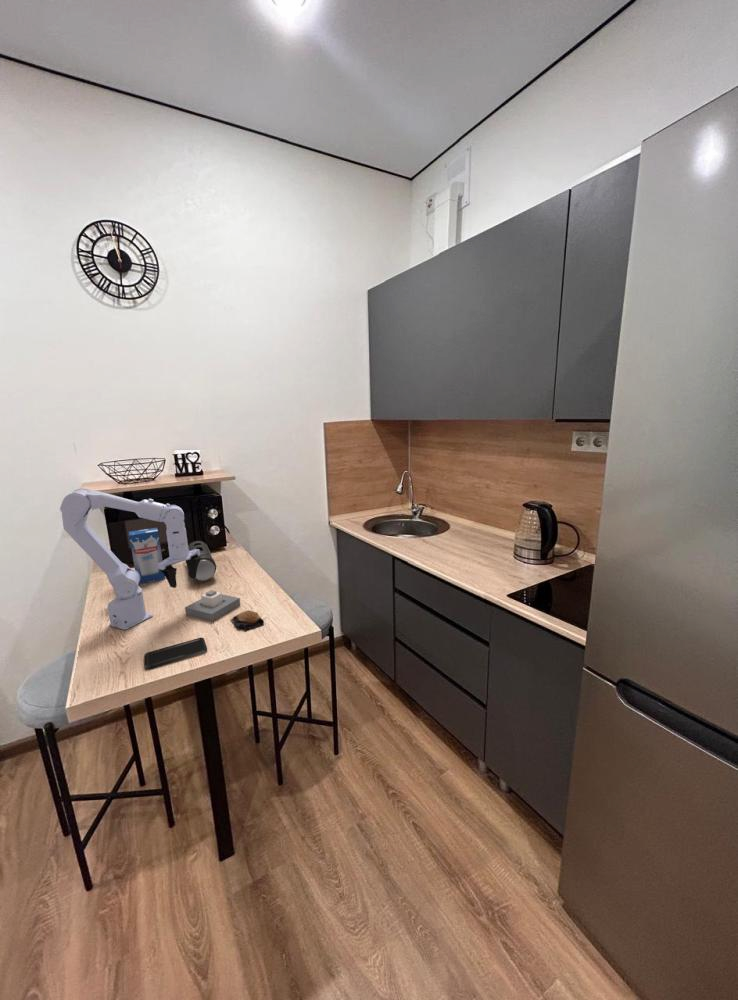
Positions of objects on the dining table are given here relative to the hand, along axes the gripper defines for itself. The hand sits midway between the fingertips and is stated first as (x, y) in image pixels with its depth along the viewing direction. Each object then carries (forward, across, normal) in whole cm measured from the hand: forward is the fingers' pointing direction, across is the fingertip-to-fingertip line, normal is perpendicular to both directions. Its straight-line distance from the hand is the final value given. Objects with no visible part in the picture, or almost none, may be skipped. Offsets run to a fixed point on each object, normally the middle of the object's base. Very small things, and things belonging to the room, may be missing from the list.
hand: (183, 582), depth 132 cm
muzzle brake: (+10, +26, +22) cm, 35 cm away
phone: (+10, -20, -20) cm, 30 cm away
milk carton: (+10, +13, +36) cm, 39 cm away
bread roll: (+10, +1, -26) cm, 28 cm away
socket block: (+9, +3, -9) cm, 13 cm away
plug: (+10, +3, -9) cm, 13 cm away
